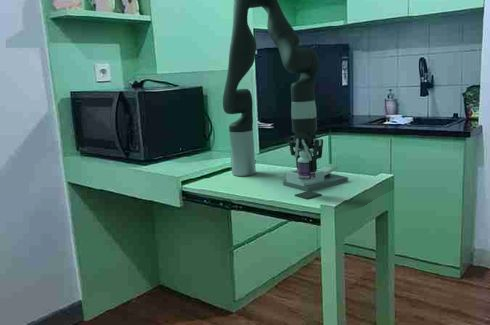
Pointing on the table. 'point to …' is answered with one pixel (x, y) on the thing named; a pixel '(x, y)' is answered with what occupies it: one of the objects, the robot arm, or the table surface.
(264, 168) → the table surface
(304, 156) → the pill bottle
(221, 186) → the table surface
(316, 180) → the panel
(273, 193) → the table surface
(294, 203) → the table surface
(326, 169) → the rocker
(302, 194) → the pad
